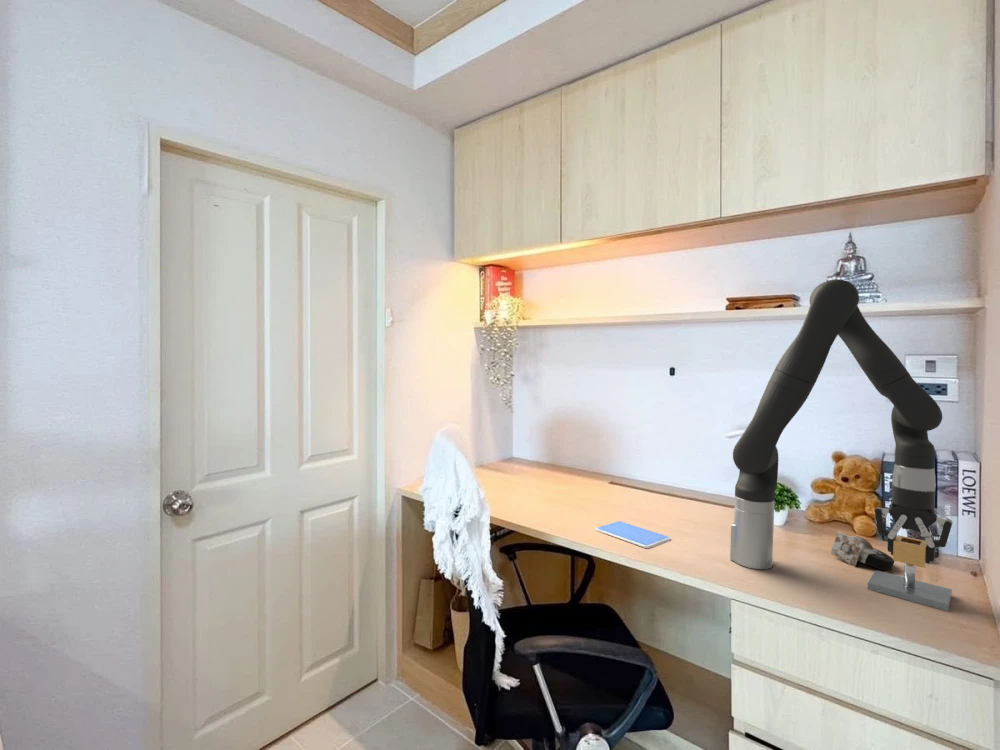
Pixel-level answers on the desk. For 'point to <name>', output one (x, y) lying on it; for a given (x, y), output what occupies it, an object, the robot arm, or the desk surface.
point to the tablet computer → (633, 534)
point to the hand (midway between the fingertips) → (910, 558)
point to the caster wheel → (859, 552)
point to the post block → (910, 588)
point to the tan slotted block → (910, 551)
